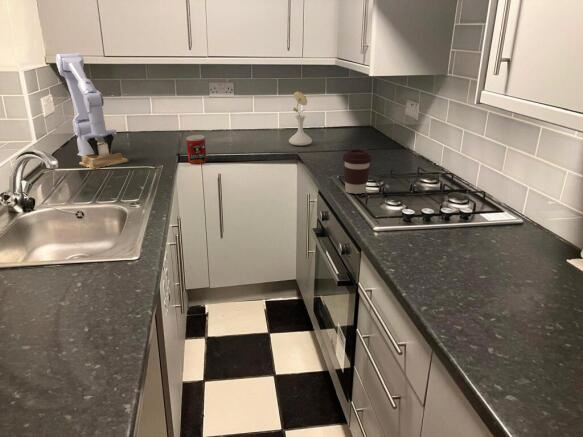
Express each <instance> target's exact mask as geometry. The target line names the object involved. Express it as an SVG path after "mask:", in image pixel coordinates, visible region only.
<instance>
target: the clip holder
mask: <svg viewBox="0 0 583 437" xmlns="http://www.w3.org/2000/svg"><path fill="white" fill-rule="evenodd" d="M80 157H81V161H80V162H79V165H80V166H83V167H86V168H88V167H89V168H88V169H91V168H92V169H91V170H94V171H95V170H97V169H96V168H99V169H101V168H100V167H103V168H105V166H107V167H110V165H111V166H114V165H118V164H122V163H126V162H129V159H128V158H125V157H123V156H122V153H121V152H117V153H113V152H112V149H111V153H109V155H107V156H103V157H99V158H97V156H96V155H95V154H94V153H91V154H87V155H82V156H80Z"/></svg>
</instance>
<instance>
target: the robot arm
mask: <svg viewBox="0 0 583 437" xmlns="http://www.w3.org/2000/svg"><path fill="white" fill-rule="evenodd" d="M55 63H56V67H57V69H58V72H59V75H60V76H61V77H64V79H65V81H66V84H67V88H68V91H69V93H70V97H71V101H72V103H73V106H74V109H75V114H76V115H75V116H74V117H73V119H72V128H73V133H74V134H75V136H76V137H77V139H76V144H77V148H78V153H77V156H79V157H81V156H82V155H87V154H91V153H94V154H95V155H96V156H98V155H99V153H98V145H97V144H98V143H99V142H98V138H102V139H103V143H107V144H108V150H109V153H111V150H112V144H113V141H114V138H115V135H118V134H117V133H118V132H117V129H107V128H106V123H105V116H104V111H103V110H104V109H103V107H104V103H105V102H104V97H103V94H102V93H101V91H99V90H97V89H96V87H95V85H94V83H93V82H92V80H91V79H89V78H87V75H86V72H85V71H84V65H85V60H84V57H83V55H82V54H81V53H80V52H75V53H57V54H56V55H55Z"/></svg>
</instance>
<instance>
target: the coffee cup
mask: <svg viewBox="0 0 583 437" xmlns="http://www.w3.org/2000/svg"><path fill="white" fill-rule="evenodd" d="M342 160H343V162H344V165H343V169H344V170H343V172H344V173H343V174H344V175H343V176H344V184H345V185H344V186H345V188H344V190H345V193H346V192H348V193H364V194H365V193H366V191H367V184H368V180H369V176H370V175H369V174H370V163H371V162H372V160H373V157H372V154H369V153H368V151H367V150H365V149H360V148H359V149H358V148H354V149H349V150H348V151H347V153H344V154H343V155H342ZM348 193H347V194H348Z"/></svg>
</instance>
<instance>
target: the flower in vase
mask: <svg viewBox="0 0 583 437" xmlns="http://www.w3.org/2000/svg"><path fill="white" fill-rule="evenodd" d="M293 97H294V99H295V101H296V102H297V105H296V107H293V109H292V111H294V112H295V113H297V114H298V115H295V118H296V120H297V121H296V122H297V127H298V128H297V131H296V133H295V134H294V135H292V136H291V137H290V138H289V139H288V143H289V144H291V145H292V146H309V145H310V144H312V142H313V140H312V138H311V137H310V136H309V135H307V133H305V132H304V120H305V118H306V117H307V116H306V115H303V114H301V113H302V112H305V109H303V110H301V111H299V110H298V109H299V108H298V107H299V105H301V106H306V105H308V99H307V97H306V95H304V93H302V91H295V92H294V93H293Z"/></svg>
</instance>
